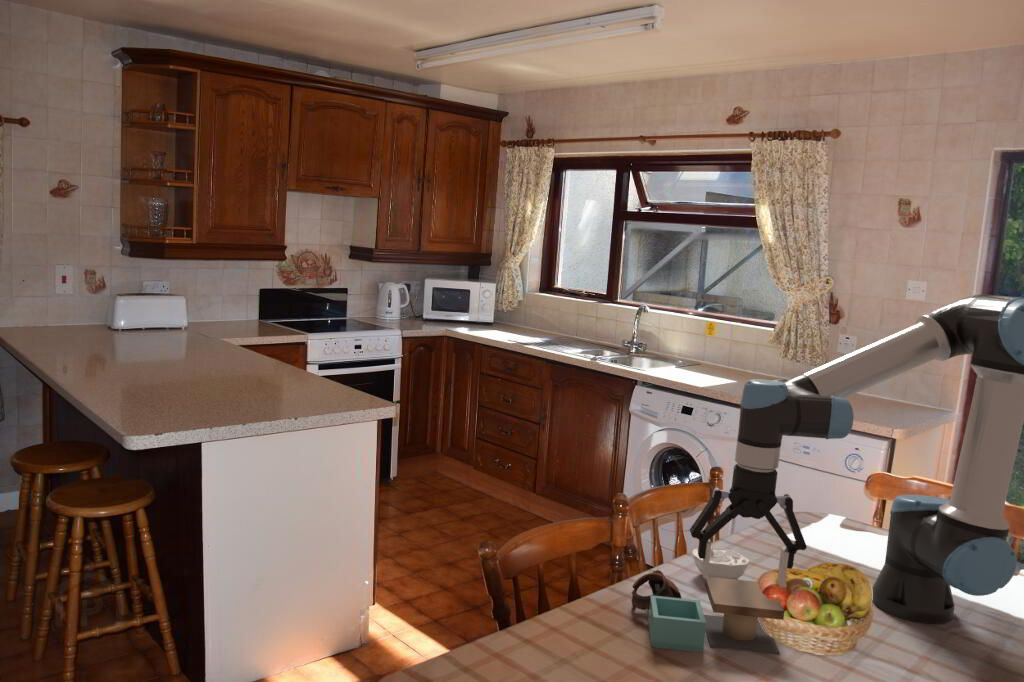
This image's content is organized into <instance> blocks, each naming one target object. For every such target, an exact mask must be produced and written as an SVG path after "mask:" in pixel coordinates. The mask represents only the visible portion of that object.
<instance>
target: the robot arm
mask: <svg viewBox="0 0 1024 682" xmlns="http://www.w3.org/2000/svg"><path fill="white" fill-rule="evenodd" d="M965 355H972V356H971V359H970V360H971V361H970V365H969V366H970V367H971V368H972V370H973V371H974V372H975V374H976V381H975V382H976V383H975V387H974V390H973V394H972V395H973V396H972V398H971V399H972V400H971V405H970V408H969V414H968V418H967V421H966V427H965V430H964V435H963V440H962V443H961V444H962V446H961V449H960V454H959V459H958V462H957V467H956V472H955V474H954V475H955V476H954V480H953V485H952V490H951V494H950V498H949V499H947V498H943V497H939V496H932V495H922V494H900V495H897V496H896V497H894V498H893V501H892V505H891V509H890V511H889V513H890V517H889V526H888V527H889V528H888V535H887V543H886V553H885V559H884V565H883V567H882V568H881V571H879V574H878V575H877V578H876V580H875V582H874V583H873V586H872V588H871V590H872V589H873V601H872V603H873V604H874V605H876V606H877V607H878V608H879V609H881V610H883V611H884V612H886V613H888V614H890V615H893V616H895V617H898V618H901V619H905V620H908V621H913V622H916V623H917V622H918V623H925V624H943V623H944V624H945V623H949V622H951V621H952V620H953V618H954V613H955V602H954V598H953V592H952V589H951V587H952V588H954V589H957V590H959V591H961V592H962V593H964V594H967V595H971V596H974V597H975V596H976V597H982V596H983V597H984V596H989V595H992V594H994V593H996V592H997V591H998V590H999V589H1003V588H1004V587H1005V586H1006V585H1008V583H1009V582H1010V581H1011V580H1012V578H1014V575H1015V572H1016V571H1017V564H1018V563H1017V562H1018V559H1017V555H1016V553H1015V551H1014V549H1013V548H1012V546H1011V544H1010V543H1008V542H1007V540H1008V535H1009V532H1010V527H1011V525H1010V524H1009V522H1008V521H1007V520H1006V518H1005V516H1004V515H1003V514H1004V510H1005V509H1004V508H1005V505H1006V500H1007V497H1008V492H1009V487H1010V482H1011V479H1012V475H1013V471H1014V470H1013V469H1014V466H1015V461H1016V458H1017V452H1018V448H1019V444H1020V439H1021V435H1022V430H1023V425H1024V297H1021V296H1019V297H1018V296H1009V295H1008V296H1007V295H1006V296H1005V295H996V294H989V293H985V294H984V293H982V294H975V295H971V296H967V297H965V298H964V297H963V298H961V299H958V300H956V301H952V302H951V303H948V304H945V305H944V306H943V305H942V306H941V307H939V308H937V309H934V310H931V311H929V312H927V313H925V314H923V315H921V316H919V317H918V318H917V320H916V321H915V324H913V325H911V326H909V327H907V328H904V329H902V330H900V331H897V332H896V333H893V334H891V335H888V336H885V337H884V338H882V339H881V338H880V339H879V340H877V341H875V342H872V343H871V344H867V345H866V346H863V347H861V348H859V349H856V350H854V351H852V352H850V353H847V354H845V355H843V356H840V357H839V358H836V359H834V360H831V361H830V362H827V363H825V364H823V365H820V366H818V367H815V368H814V369H812V370H810V371H807V372H805V373H803V374H800V375H797V376H795V377H793V378H790V379H788V380H787V379H773V380H771V379H770V380H769V379H762V378H753V379H749V380H747V381H746V382H745V383H744V386H743V390H742V394H741V400H740V410H739V411H740V412H739V422H738V431H737V439H736V440H737V441H736V446H735V447H736V448H735V453H734V454H735V455H734V462H735V463H736V464H734V465H733V472H732V480H731V487H730V489H729V490H724V489H720V487H718V486H714V487H713V488H712V492H711V495H710V496H711V497H710V498H709V500H708V502H707V503H706V505H705V506H704V508H702V511H701V512H700V513H699V515H698V517H696V520H695V521H694V522H693V524H692V525H691V526H690V528H689V532H690V535H691V538H693V539H697V540H699V541H698V547H697V548H698V555H699V558H702V559H703V563H702V573H701V574H702V578H703V579H705V578H707V579H708V570H709V561H710V553H711V546H712V541H711V538H713V537H714V536H715V535H716V534H717V533H718V532H719V531H721V530H722V529H723V528H724V527H725V526H726V525H727V524H728V523H730V522H731V521H732V520H733V519H736V518H737V517H738V516H740V517H742V518H745V519H747V518H752V519H756V520H761V519H762V518H764V517H765V519H766V521H768V523H769V525H771V527H772V528H773V530H774V531H775V533H776V534H777V535H778V537H779V538H780V540H781V541H782V543H783V544H784V545H785V546H781V547H780V554H779V563H778V569H777V571H778V572H777V578H776V582H777V584H778V585H779V587H780V588H785V587H786V580H787V579H786V578H787V571H788V570H787V569H790V570H791V569H793V567H794V561H795V555H796V553H797V552H798V551H800V550H801V551H804V550H805V551H806V550H807V544H806V543H807V542H806V541H805V539H804V536H803V534H802V531H801V530H802V529H800V525H799V523H798V519H797V518H796V517H797V516H796V515H795V513H794V501H793V499H792V497H791V495H790V494H788V493H785V494H784V495H783V496H782V495H776V488H777V481H778V480H777V479H778V471H777V469H778V468H779V466H780V465H779V463H780V455H781V454H780V453H781V447H782V440H783V437H784V436H786V437H800V438H813V439H814V438H815V439H825V440H831V439H833V440H834V439H838V440H839V439H844V438H846V437H847V436H849V435H850V432H851V431H852V429H853V424H854V418H855V417H854V410H853V407H852V404H851V402H850V401H849V400H848V399H847V398H848V397H851V396H853V395H856V394H858V393H859V392H862V391H865V390H868V389H869V388H871V387H874V386H876V385H878V384H880V383H883V382H885V381H887V380H890V379H892V378H895V377H897V376H899V375H902V374H903V373H906V372H908V371H910V370H913V369H915V368H917V367H920V366H921V365H924V364H926V363H928V362H931V361H933V360H937V361H939V362H944V361H947V360H949V359H952V358H955V357H957V356H965ZM725 499H728V500H729V501H730V504H729V505H728V506H727V507H726V508H725V510H723V512H722V513H720V514H719V515H718V516H717V517H716V518H715V519H714V520H713V521H711V522H710V523H709V524H708V522H709V520H710V519H711V518H712V516H713V514H714V513H715V512H716V510H717V508H718V507H719V505H720V503H723V502H724V501H725ZM777 504H778V505H779V507H780V508H781V509H783V512H784V514H785V517H786V519H787V522H788V524H789V525H788V526H789V527H790V530H791V532H792V535H793V537H794V541H792V540H791V539H790V537H789V536H788V535H787V533H786V532H785V531H784V529H783V528H782V526H781V524H780V523H779V522H778V521H777V519H776V518H775V516H774V515H773V514H772V511H771V510H772V509H773V508H774V507H776V505H777ZM707 524H708V525H707ZM706 525H707V526H706ZM705 526H706V527H705Z"/></svg>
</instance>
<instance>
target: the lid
mask: <svg viewBox="0 0 1024 682" xmlns="http://www.w3.org/2000/svg"><path fill="white" fill-rule="evenodd" d="M758 582H759V581H753V580H745V579H726V578H716V577H708V579H707V578H704V587H705V590H706V594H707V597H708V599H709V603H710V607H711V609H712V612H713V613H717V614H723V615H724V614H733V615H743V616H752V617H758V618H764V619H774V620H782V621H784V618H785V617H784V616H785V610H784V607H783V606H782V604H781V602H780V601H779V602H777V601H774V600H771V599H768V598H767V597H766V596H765V595H764V594H763V593H762V591H761V589H760V588H759V584H758Z"/></svg>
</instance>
